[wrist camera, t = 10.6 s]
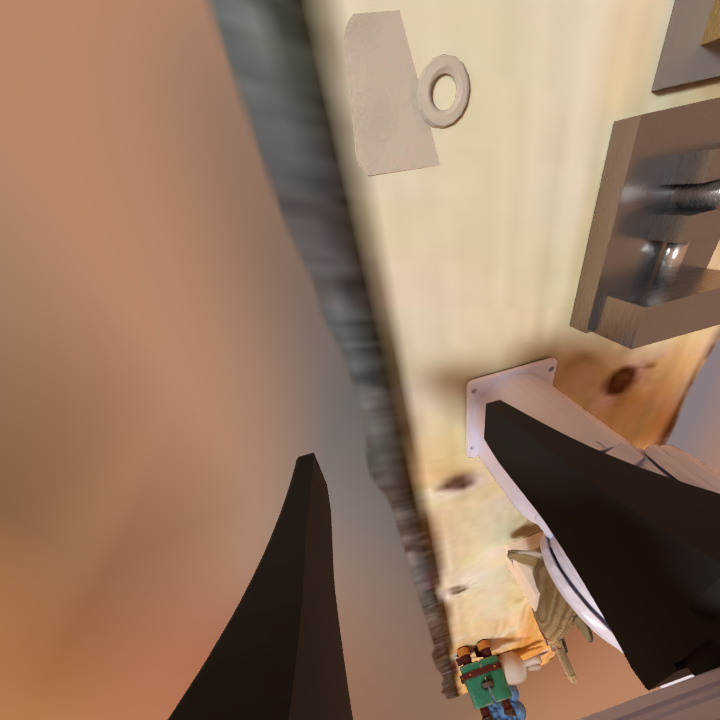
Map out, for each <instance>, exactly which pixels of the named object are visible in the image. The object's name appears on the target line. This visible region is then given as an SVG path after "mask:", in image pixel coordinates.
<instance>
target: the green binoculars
mask: <svg viewBox="0 0 720 720" xmlns="http://www.w3.org/2000/svg"><path fill="white" fill-rule="evenodd" d="M477 647H478V649H477V650H475V654H476V657H483V659H480V660H479V661H480V663H479V661H475V662H472V661H471V660H472V659H471V657H470V655H471V653H470V650H469V648H468V647H462V648H460V649H458V651H457V654H458V656H459V658H457V659H456V661H457V663H458V666H461V665H464V666H461V667H460V670H461V673H462V675H461V676H460V679H461V682H462V684H464V683H465V685H466V687H467V689H468V692H469V694H470V697H471V699H472V702H473V705H474V707H475V709H476V710H477V709H480V711H481V714H482V717H483V719H482V720H493V717H492V715H491V714H490V712H489V709H488V706H489V705H491V704H493V700H492V697H491V694H490V691H491V693H492V695H493V698H494V700H495V702H496V703H497V702H500V701H501V703H502V705H503V708H504V714H505V715H508V716H517V715H516V712H515V710H514V708H512V706H511V703H510V701H509V698H511V697H512V694H511V691H510V688H509V686H508V683H507V680H506V678H505V675H504V672H503V670H502V666H501V663H500V662H499V660H498V657H497V655H493V656H492V653H491V651H490V644H489V642H488V640H482V641H480V642H479V643H478V644H477ZM480 665H481V666H480ZM485 678H486V679H485ZM488 687H489V688H490V691H489V688H488Z"/></svg>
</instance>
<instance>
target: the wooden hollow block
mask: <svg viewBox="0 0 720 720" xmlns="http://www.w3.org/2000/svg"><path fill="white" fill-rule="evenodd" d="M719 41H720V0H714V2H713V5H712V8H711V11H710V15H709V18H708V21H707V24H706V28H705V31H704V34H703V37H702V41H701V44H700V45H705V44H710V43H715V42H719Z"/></svg>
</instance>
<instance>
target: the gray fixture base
mask: <svg viewBox="0 0 720 720" xmlns="http://www.w3.org/2000/svg"><path fill="white" fill-rule="evenodd" d="M719 239H720V97H719V98H715V99H710V100H706V101H701V102H697V103H692V104H688V105H684V106H679V107H675V108H670V109H666V110H661V111H657V112H652V113H648V114H643V115H639V116H635V117H631V118H627V119H623V120H619V121H615V122H614V125H613V130H612V134H611V139H610V143H609V148H608V152H607V157H606V162H605V166H604V171H603V175H602V180H601V185H600V189H599V194H598V198H597V203H596V207H595V212H594V217H593V221H592V226H591V230H590V235H589V240H588V244H587V249H586V253H585V258H584V263H583V267H582V272H581V276H580V281H579V285H578V290H577V295H576V299H575V304H574V308H573V313H572V318H571V322H570V326H571V327H574V328H576V329H578V330H580V331H582V332H584V333H588V332H594V333H596V334H599V335H601V336H603V337H605V338H607V339H610V340H612V341H614V342H616V343H619V344H621V345H623V346H625V347H628V348H630V349H634V348H637V347H641V346H644V345H648V344H652V343H655V342H659V341H662V340H666V339H669V338H673V337H676V336H680V335H684V334H687V333H691V332H694V331H698V330H701V329H705V328H708V327H712V326H715V325H719V324H720V271H719V270H713V269H707V266H708V264H709V262H710V259H711V257H712V255H713V253H714V250H715V248H716V246H717V244H718V241H719Z"/></svg>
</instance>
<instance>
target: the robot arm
mask: <svg viewBox="0 0 720 720" xmlns="http://www.w3.org/2000/svg"><path fill="white" fill-rule="evenodd" d="M556 367H557V360H556V359H554V358H548V359H544V360H540V361H537V362H533V363H530V364H526V365H522V366H519V367H515V368H512V369H508V370H504V371H501V372H497V373H494V374H490V375H486V376H483V377H479V378H476V379H472V380H470V381H469V382H468V383H467V412H466V454H467V456H468V457H469V458H473V457H476V456H479V458H480V459H481V461H482V462H483V463H484V465H485V466H486V468H487V469H488V471H489V472H490V473H491V475H492V476H493V478H494V479H495V481H496V482H497V483H498V485H499V486H500V488H501V489H502V491H503V492H504V493H505V495H506V496H507V498H508V499H509V501H510V502H511V503H512V505H513V506H514V507H515V508H516V510H517V511H518V512H519V513H520V514H522V515H523V516H524V517H525V518H527V519H528V520H530V521H531V522H533V523H535V524H537V525H539V527H540V528H541V529H542V531H543V532H544V534H543V535H542V536H541V539H540V548H541V552H542V555H543V559H544V563H545V566H546V568H547V570H548V573H549V575H550V577H551V578H552V580H553V582H554V584H555V585H556V587H557V589H558V590H559V592H560V593H561V594H562V596H563V597H564V599H565V600H566V601H567V603H568V604H569V605H570V606H571V608H572V609H573V610H574V611H575V612H576V614H577V615H578V616H579V617H580V618H581V619H582V620H583V621H584V622H585V623H586V624H587V625H588V626H589V627H590V628H591V629H592V630H593V631H594V632H595V633H597V634H598V635H599V636H600V637H601V638H603V639H604V640H605V641H607V642H608V643H610V644H611V645H613V646H614V647H616V648H617V649H618V650H620V651H621V652H622V653H623V654H624V655H625V657H626V658H627V660H628V662H629V664H630V666H631V668H632V669H633V671H634V672H635V673H636V675H637V676H638V678H639V679H640V680H641V682H642V683H643V685H644V686H645V688H646V689H648V690H651V689H654V688H656V687H660V688H662V689H659V690H657V691H654V692H651V693H648V694H646V695H643V696H640V697H638V698H635V699H632V700H629V701H627V702H624V703H621V704H618V705H616V706H613V707H610V708H608V709H605V710H602V711H600V712H597V713H594V714H592V715H589V716H586V717H583V718H581V719H578V720H720V473H718V472H717V471H715V470H714V469H712V468H710V467H708V466H707V465H705V464H704V463H702V462H700V461H699V460H697V459H695V458H694V457H692V456H690V455H689V454H687V453H685V452H684V451H682V450H680V449H678V448H676V447H674V446H663V445H662V446H659V445H656V444H651V445H650V446H648V447H647V448H646V449H645V451H644V450H642V449H640V448H637V447H636V446H634V445H633V444H632V443H630V442H629V441H627V440H626V439H625V438H623V437H622V436H621V435H619V434H618V433H617V432H615V431H614V430H612V429H611V428H610V427H608V426H607V425H606V424H604V423H603V422H601V421H600V420H599V419H597V418H596V417H595V416H593V415H592V414H591V413H589V412H588V411H586V410H585V409H584V408H582V407H581V406H580V405H578V404H577V403H575V402H574V401H573V400H571V399H570V398H569V397H567V396H566V395H565V394H563V393H562V392H560V391H559V390H558V389H556V388H555V387H554V386H553V381H554V376H555V372H556ZM473 389H474V390H473ZM472 390H473V391H472ZM333 572H334V571H333V549H332V527H331V509H330V502H329V495H328V489H327V484H326V481H325V479H324V476H323V474H322V472H321V469H320V467H319V464H318V462H317V460H316V457H315V455H314V453H311V454H307V455H304V456H300V457H298V459H297V460H296V465H295V469H294V472H293V476H292V480H291V483H290V486H289V490H288V492H287V495H286V498H285V501H284V504H283V507H282V510H281V513H280V515H279V518H278V521H277V523H276V526H275V528H274V531H273V533H272V536H271V538H270V541H269V543H268V545H267V547H266V550H265V552H264V555H263V556H262V559H261V561H260V563H259V565H258V567H257V569H256V571H255V573H254V576H253V578H252V580H251V581H250V583H249V585H248V587H247V589H246V591H245V593H244V595H243V597H242V599H241V601H240V603H239V605H238V607H237V608H236V610H235V612H234V614H233V616H232V617H231V619H230V621H229V623H228V624H227V626H226V628H225V629H224V631H223V633H222V634H221V636H220V638H219V640H218V641H217V643H216V645H215V646H214V648H213V650H212V652H211V653H210V655H209V657H208V658H207V660H206V661H205V663H204V665H203V666H202V668H201V670H200V671H199V673H198V674H197V676H196V677H195V679H194V680H193V682H192V683H191V685H190V687H189V688H188V690H187V691H186V693H185V694H184V696H183V697H182V699H181V700H180V702H179V703H178V705H177V707H176V708H175V710H174V711H173V713H172V714H171V716H170V717H169V719H168V720H353V717H352V711H351V705H350V698H349V691H348V684H347V677H346V670H345V664H344V657H343V649H342V642H341V635H340V627H339V620H338V611H337V603H336V595H335V586H334V573H333Z"/></svg>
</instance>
